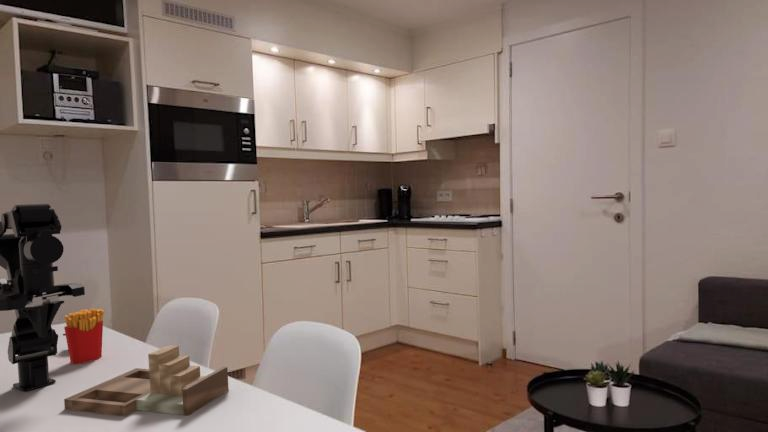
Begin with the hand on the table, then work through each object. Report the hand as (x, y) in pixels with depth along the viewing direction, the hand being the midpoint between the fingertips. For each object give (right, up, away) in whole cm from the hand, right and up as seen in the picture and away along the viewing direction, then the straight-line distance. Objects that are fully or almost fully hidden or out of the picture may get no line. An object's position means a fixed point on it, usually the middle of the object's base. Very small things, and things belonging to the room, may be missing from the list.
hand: (42, 336), depth 112 cm
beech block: (+31, -10, -4) cm, 33 cm away
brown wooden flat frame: (+24, -12, -2) cm, 27 cm away
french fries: (-6, -12, +27) cm, 30 cm away
